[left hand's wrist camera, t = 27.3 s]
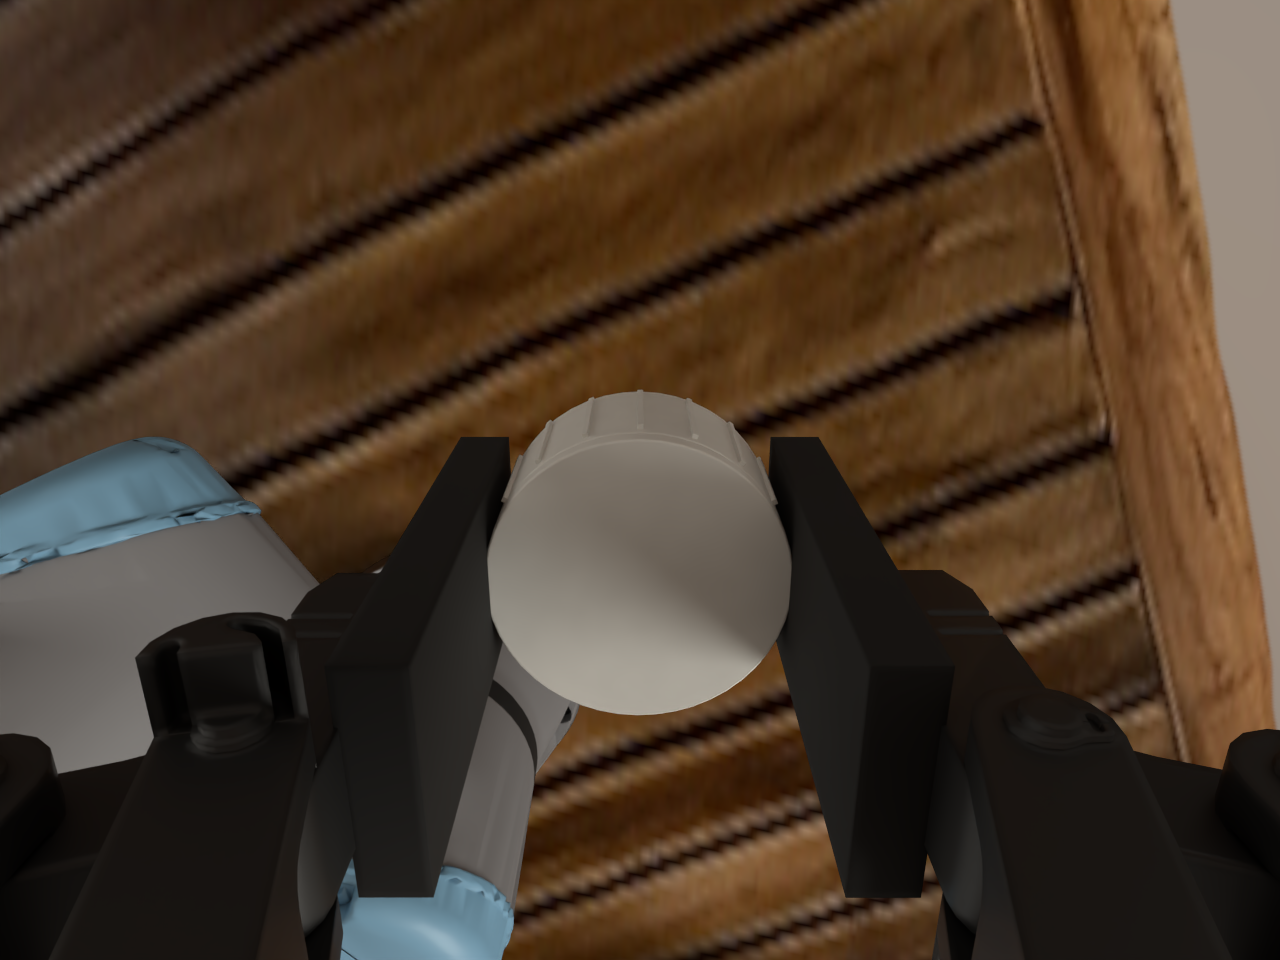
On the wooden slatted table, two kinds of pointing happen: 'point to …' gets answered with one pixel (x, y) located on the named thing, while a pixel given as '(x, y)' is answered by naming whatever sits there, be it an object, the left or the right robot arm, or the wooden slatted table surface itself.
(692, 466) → the cap
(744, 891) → the wooden slatted table surface
